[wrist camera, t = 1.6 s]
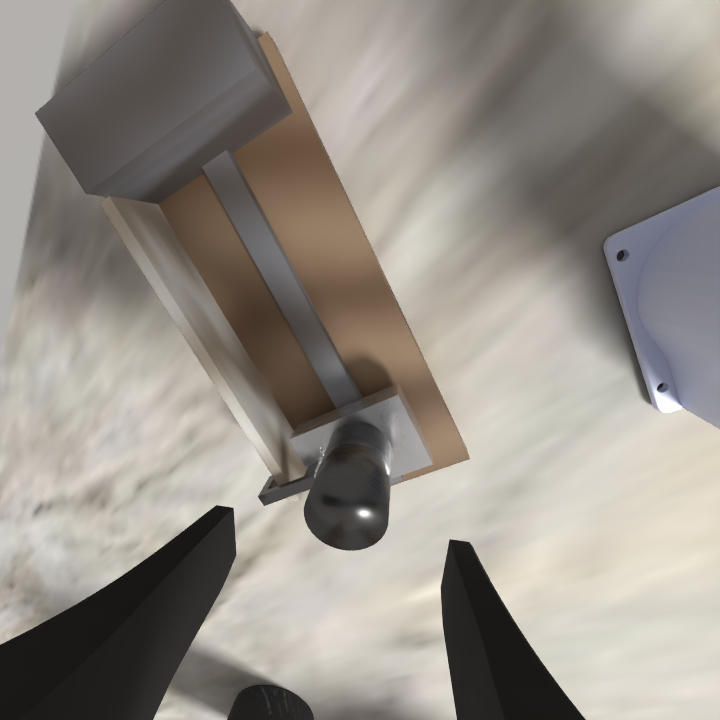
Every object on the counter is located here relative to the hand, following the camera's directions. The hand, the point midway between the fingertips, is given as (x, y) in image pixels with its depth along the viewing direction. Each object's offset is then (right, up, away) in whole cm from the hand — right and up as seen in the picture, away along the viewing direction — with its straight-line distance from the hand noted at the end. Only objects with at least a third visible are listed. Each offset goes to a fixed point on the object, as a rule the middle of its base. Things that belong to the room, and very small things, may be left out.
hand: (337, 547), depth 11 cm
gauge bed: (-2, +9, +7) cm, 12 cm away
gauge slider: (0, +2, +7) cm, 8 cm away
